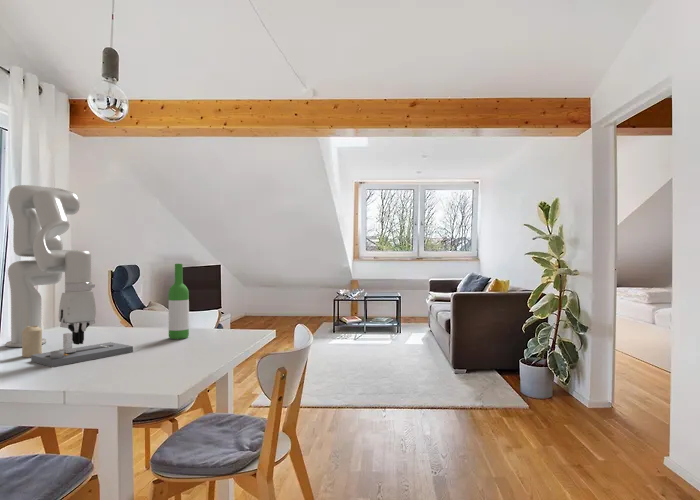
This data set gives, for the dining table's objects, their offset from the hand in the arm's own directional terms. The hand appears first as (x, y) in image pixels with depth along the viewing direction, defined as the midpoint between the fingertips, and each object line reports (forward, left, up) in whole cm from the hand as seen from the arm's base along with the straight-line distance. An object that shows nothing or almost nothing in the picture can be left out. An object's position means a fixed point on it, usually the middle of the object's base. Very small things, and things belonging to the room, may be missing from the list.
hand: (78, 343), depth 157 cm
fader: (0, -3, -2) cm, 4 cm away
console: (0, +2, -5) cm, 5 cm away
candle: (-16, -7, -5) cm, 18 cm away
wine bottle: (-3, +41, -5) cm, 41 cm away
